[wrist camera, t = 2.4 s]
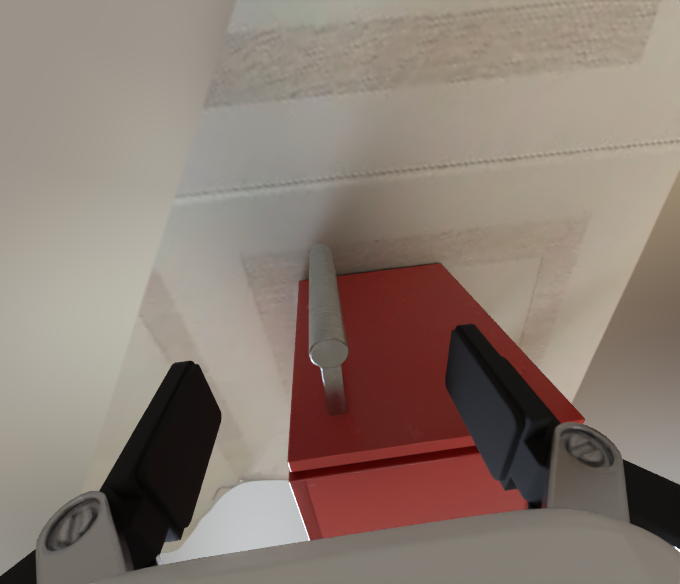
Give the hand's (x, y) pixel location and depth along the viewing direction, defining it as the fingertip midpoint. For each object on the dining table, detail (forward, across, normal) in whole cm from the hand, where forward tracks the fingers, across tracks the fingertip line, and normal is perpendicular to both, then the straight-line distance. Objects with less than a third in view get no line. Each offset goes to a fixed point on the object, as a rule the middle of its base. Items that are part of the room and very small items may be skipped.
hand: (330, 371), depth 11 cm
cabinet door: (+14, -4, +2) cm, 15 cm away
